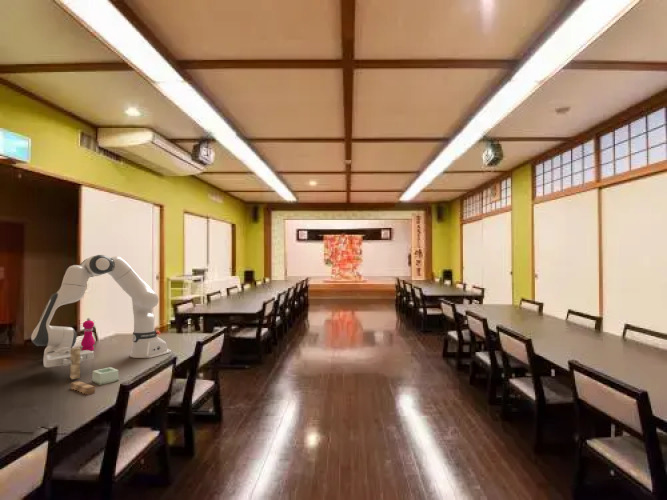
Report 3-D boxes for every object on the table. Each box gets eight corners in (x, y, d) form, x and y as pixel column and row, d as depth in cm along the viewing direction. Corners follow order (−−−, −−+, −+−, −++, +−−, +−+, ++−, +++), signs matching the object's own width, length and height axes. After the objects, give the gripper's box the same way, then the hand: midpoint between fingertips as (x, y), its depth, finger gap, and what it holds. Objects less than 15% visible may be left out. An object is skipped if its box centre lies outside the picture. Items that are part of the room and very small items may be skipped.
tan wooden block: (77, 376, 187) (77, 347, 187) (79, 377, 185) (80, 348, 186) (70, 377, 185) (70, 348, 185) (72, 379, 183) (73, 349, 183)
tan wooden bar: (70, 389, 173) (70, 382, 173) (78, 387, 175) (78, 380, 175) (87, 395, 166) (87, 388, 166) (94, 393, 168) (94, 386, 168)
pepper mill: (88, 351, 238) (88, 319, 238) (77, 351, 240) (78, 318, 240) (97, 349, 245) (98, 317, 246) (87, 348, 247) (88, 316, 247)
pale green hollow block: (110, 377, 189) (110, 367, 189) (118, 380, 185) (118, 370, 185) (92, 381, 183) (92, 370, 183) (100, 385, 178) (100, 374, 178)
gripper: (87, 358, 201) (99, 362, 193) (39, 367, 185) (51, 372, 176) (87, 346, 201) (99, 350, 193) (40, 354, 185) (51, 359, 177)
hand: (76, 361), depth 185 cm, fingers closed on tan wooden block, 3 cm apart
